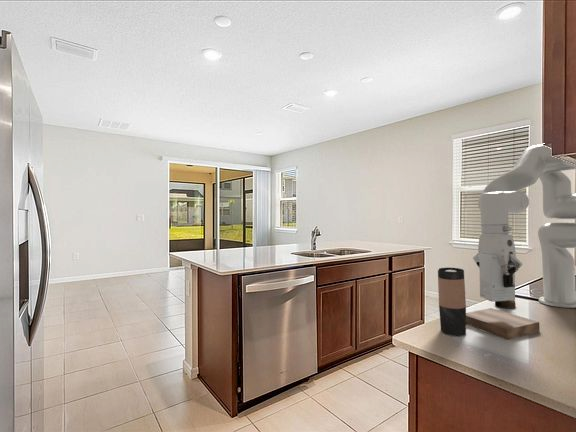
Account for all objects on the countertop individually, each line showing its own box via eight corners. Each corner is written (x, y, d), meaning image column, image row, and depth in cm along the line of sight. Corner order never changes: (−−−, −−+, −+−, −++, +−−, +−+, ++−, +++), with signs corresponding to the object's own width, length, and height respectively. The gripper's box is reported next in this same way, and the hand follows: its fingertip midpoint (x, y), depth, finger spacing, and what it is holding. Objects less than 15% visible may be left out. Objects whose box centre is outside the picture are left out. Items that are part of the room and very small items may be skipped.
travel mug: (472, 334, 98) (470, 270, 98) (451, 338, 96) (448, 272, 96) (454, 326, 105) (452, 266, 105) (434, 329, 104) (432, 268, 103)
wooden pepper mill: (509, 303, 126) (507, 258, 126) (519, 308, 120) (517, 261, 120) (491, 303, 127) (489, 259, 127) (501, 308, 121) (499, 261, 120)
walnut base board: (491, 316, 113) (491, 308, 113) (539, 331, 98) (539, 322, 98) (461, 322, 108) (461, 313, 108) (507, 339, 93) (506, 329, 93)
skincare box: (491, 302, 100) (490, 255, 99) (478, 296, 106) (477, 252, 106) (516, 300, 100) (515, 254, 100) (502, 295, 106) (501, 251, 106)
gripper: (530, 230, 96) (533, 288, 96) (479, 228, 112) (481, 278, 112) (513, 231, 93) (515, 291, 94) (463, 229, 110) (465, 280, 110)
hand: (496, 284), depth 103 cm, fingers closed on skincare box, 6 cm apart
